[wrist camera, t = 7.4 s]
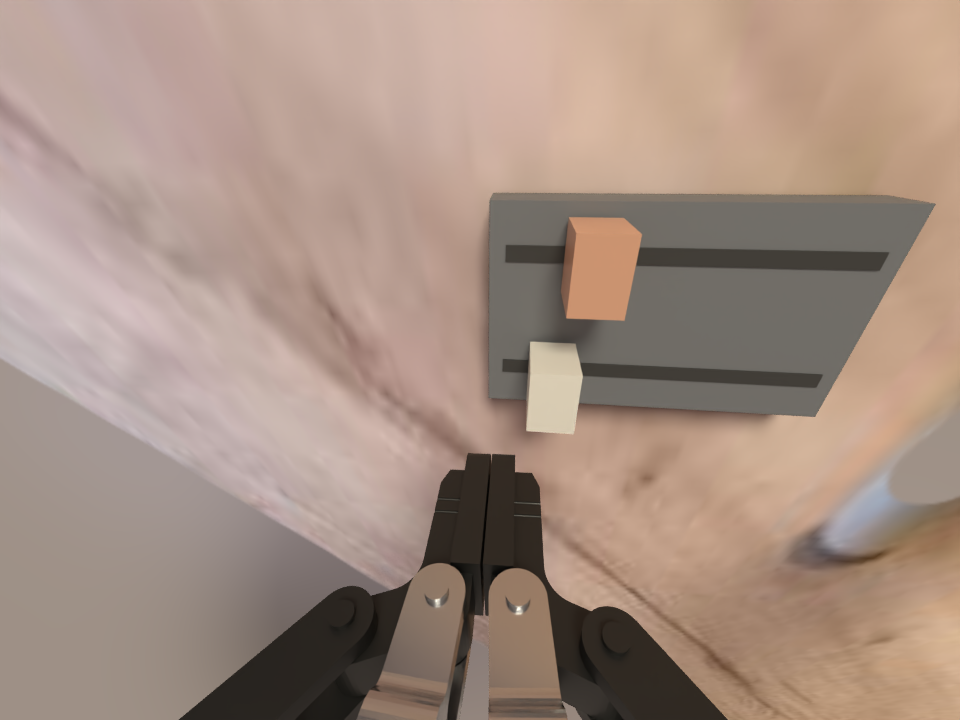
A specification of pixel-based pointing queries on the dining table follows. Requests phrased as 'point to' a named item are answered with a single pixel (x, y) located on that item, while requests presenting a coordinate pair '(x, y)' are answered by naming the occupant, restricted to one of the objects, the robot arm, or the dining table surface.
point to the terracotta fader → (599, 267)
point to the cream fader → (553, 387)
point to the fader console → (701, 295)
